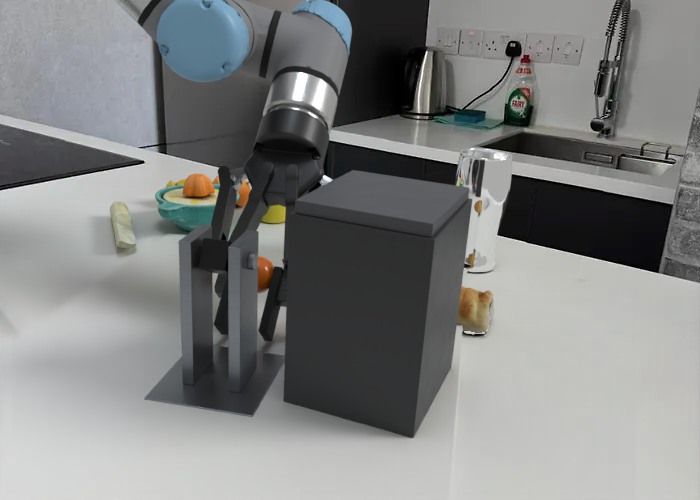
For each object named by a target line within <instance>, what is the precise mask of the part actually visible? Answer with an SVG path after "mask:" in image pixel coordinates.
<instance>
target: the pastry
mask: <svg viewBox="0 0 700 500" xmlns="http://www.w3.org/2000/svg"><path fill="white" fill-rule="evenodd" d="M494 301H495V300H494V293H493V292H492V291H491V290H490V289H489V290H488V289H487V290H485V291H484V292H483V291H482V290H481V291H480V290H477V289H474V288H472V287H466V286H462V287H461V294H460V302H459V310H458V318H457V325H460V326H462V330H463V331H471V332H475V333H482V332H486V330H487V329H488V328H489V329H490V325H489V323H490V321H491V320H492V319H493V318H494V317H495V308H494V307H495V306H494ZM490 324H491V323H490ZM488 326H489V327H488ZM486 333H487V332H486Z"/></svg>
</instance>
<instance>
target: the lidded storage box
mask: <svg viewBox="0 0 700 500" xmlns="http://www.w3.org/2000/svg"><path fill="white" fill-rule="evenodd" d="M336 178H337V179H335V178H334V179H335V180H333V181H331V182H329V183H327V184H325V185H323V186H322V187H320V188H318V189H316V190H314V191H312V192H310V193H308V194H306V195H304V196H303V197H301V198H299V199H297V200H295V211H293V212H291V213H290V214H289V239H288V271H287V304H286V307H285V309H286V312H285V341H284V355H285V362H284V371H283V372H284V374H283V403H285V404H287V403H288V404H290V405H293V406H298V407H301V408H305V409H308V410H312V411H315V412H318V413H322V414H326V415H329V416H334V417H336V418H340V419H343V420H347V421H350V422H354V423H356V424H357V423H358V424H361V425H364V426H368V427H372V428H374V429H379V430H382V431H386V432H390V433H393V434H396V435H400V436H403V437H407V438H410V439H414V438H415V436H416V434H417V433H418V431H419V429H420V427H421V425H422V424H423V422H424V419H425V417H426V416H427V415H428V412H429V410H430V408H431V406H432V404H433V403H434V400H435V399H436V397H437V395H438V393H439V391H440V390H441V387H442V386H443V384H444V382H445V380H446V378H447V376H448V375H449V373H450V371H451V369H452V365H453V359H454V357H453V356H454V350H455V340H456V334H457V333H456V332H457V327H458V326H457V325H458V324H457V318H458V310H459V302H460V294H461V287H462V285H463V278H464V271H465V270H464V263H465V255H466V247H467V239H468V231H469V223H470V215H471V207H472V199H469V198H468V196H469V188H468V187H462V186H455V184H448V183H443V182H442V183H441V182H436V181H435V182H434V181H428V180H421V179H414V178H409V177H401V176H395V175H389V174H381V173H377V172H369V171H363V170H355V169H352V170H350V171H349V172H346V173H344V174H343V175H341V176H339V177H336Z"/></svg>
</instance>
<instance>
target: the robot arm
mask: <svg viewBox="0 0 700 500" xmlns="http://www.w3.org/2000/svg"><path fill="white" fill-rule="evenodd" d="M114 2H115V3H116V4H117V5H119V6H120V7H121V8H122V9H123V10H124V11H125V12H126V13H127V14H128V15H129V16H130V17H131V18H132V19H133V20H134V21H135V22H136V23H137V24H138V26H140V27H141V29H143V30H144V31H145V33H146V34H147V35H148V36H149V37H150V38H152V40H153V41H154V42H155V43H157V46H158V50H159V53H160V55H161V57H162V58H163V61H164V63H165V64H166V65H167V66H168V67H169V68H170V69H171V70H172V72H174V73H175V74H176V75H177V76H179V77H181V78H182V79H183V78H184V79H185V80H188V81H190V82H195V83H213V82H214V83H215V82H219V81H222V80H225V79H227V78H228V77H230V76H231V75H234V74H235V73H236V72H241V73H244V74H248V75H251V76H256V77H259V78H262V79H265V80H270V81H271V84H270V88H269V92H268V95H267V98H266V101H265V104H264V108H263V112H262V117H261V119H260V123H259V127H258V128H257V133H256V136H255V141H254V143H253V148H252V153H251V155H250V156H249V157H248V159H246V161H245V162H244V163H243V165H242V166H240V167H235V168H231V169H230V167H229V166H227V165H221V166H220V167H218V169H217V176H218V177H219V182H220V188H219V192H218V196H217V200H216V205H215V209H214V213H213V218H212V222H211V226H212V239H218V240H226V241H231V242H232V243H233V242H235V241H236V240H237V239H238V238H239V237H240V236H241V235H242V234H243V233H245V232H246V231H247V230H251V231H258V228H259V227H260V225H261V222H262V221H261V220H262V218H263V216H264V215H266V214H267V212H268V210H269V208H270V206H274V205H281V206H284V207H286V212H285V222H284V234H283V235H284V236H283V237H284V239H283V256H282V257H283V258H281V261H282V264H283V267H282V266H276V265H273V266H274V270H273V274H272V278H271V282H270V286H269V290H267V295H266V298H265V302H264V307H263V312H262V315H261V320H260V324H259V326H258V327H259V328H258V333H259V334H260V336H261V337H262V340H263V341H265V342H272V343H273V340H274V336H275V331H276V327H277V322H278V319H279V315H280V310H281V307H282V308H283V307H284V308H286V304H287V271H288V239H289V214H290V213H291V212H293V211H295V200H297V199H299V198H301V197H303V196H304V195H306V194H308V193H310V192H312V191H314V190H316V189H318V188H320V187H322V186H323V185H325V184H327V183H329V182H331V181H333V180H335V179H337V178H338V177H335V178H331V177H329V176H328V175H325V170H324V164H325V160H326V156H327V151H328V147H329V142H330V134H331V131H332V129H333V124H334V120H335V116H336V112H337V107H338V101H339V97H340V93H341V89H342V85H343V81H344V78H345V74H346V68H347V64H348V61H349V57H350V53H351V52H350V48H351V41H352V35H353V28H352V23H351V21H350V18H349V17H348V15H347V14H346V13H345V11H344V10H342V9H341V8H340V7H339V6H338V5H336V4H335V3H333V2H330V1H328V0H304V1H301V2H300V3H298V4H297V5H296V6H294V8H293V10H292V12H291V13H289V12H286V11H281V10H278V9H276V10H275V9H272V8H269V7H265V6H263V5H259V4H257V3H255V2H254V3H253V2H251V1H247V0H114ZM244 180H245V181H246V180H247V182H249V185H250V190H251V191H250V193H249V196H248V202H247V203H246V204H245V205H244V208H243V209H242V211H241V214H240V216H239V218H238V219H237V222H236V224H235V226H234V228H233V230H232V232H231V227H232V223H233V219H234V214H235V211H236V205H237V204H236V200H237V191H240V189H241V187H242V182H243V181H244ZM230 233H231V234H230ZM213 287H214V288H213V290H214V293H215V294H216V296H217V298H219V302H218V307H217V311H216V314H215V316H214V320H213V327H214V328H215V329H217V331H218V332H219V334H220V335H223V336H228V275H226V274H219V273H217V276H216V280H215V283H214V286H213Z"/></svg>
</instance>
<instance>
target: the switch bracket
mask: <svg viewBox="0 0 700 500" xmlns="http://www.w3.org/2000/svg"><path fill="white" fill-rule="evenodd" d="M259 235H260V234H259V231H258V230H257V231H251V230H247V231H246V232H245V233H243V234H242V235H241V236H240V237H239V238H238V239H237V240H236V241H235V242H233V243H232V244H231V245H230V246H229V247H228V335H227V337H228V345H227V346H226V345H225V346H224V345H217V344H216V345H215V344H214V325H213V324H214V309H213V308H214V302H213V301H214V300H213V298H214V297H213V296H214V291H213V290H214V288H213V287H214V286H213V273H211V272H208V271H206V270H203V269H201V268H199V261H200V256H201V250H202V244H203V239H204V238H210V239H212V226H210V225H200V226H198V227H197V228H196V229H194V230H193V231H189V233H188V234H185V235H184V237H182V238H180V239H179V240H178V262H179V263H178V265H179V266H178V267H179V302H180V336H181V337H180V338H181V339H180V340H181V356H180V357H179V358H178V360H177V361H176V362H175V363H174V364H173V365H172V367H171V368H169V370H168V371H167V372H166V374H164V376H163V377H162V378H161V379H160V380H159V381H158V382H157V383H156V384H155V386H154V387H153V388H152V389H151V390H150V391H149V393H148V394H147V395H146V396H145V397H144V400H145V401H151V402H157V403H163V404H170V405H175V406H182V407H186V408H187V407H188V408H193V409H194V408H195V409H199V410H204V411H205V410H206V411H213V412H218V413H224V414H229V415H235V416H241V417H248V418H253V417H254V415H255V413H256V412H257V410H258V409H259V406H260V405H261V403H262V401H263V400H264V398H265V396H266V395H267V393H268V391H269V389H270V388H271V386H272V385H273V382H274V380H275V379H276V378H277V376H278V374H279V372H280V370H281V368H282V367H283V365H284V364H285V354H278V353H271V352H270V353H269V352H265V351H258V300H259V299H258V297H259V294H258V256H259Z"/></svg>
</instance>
